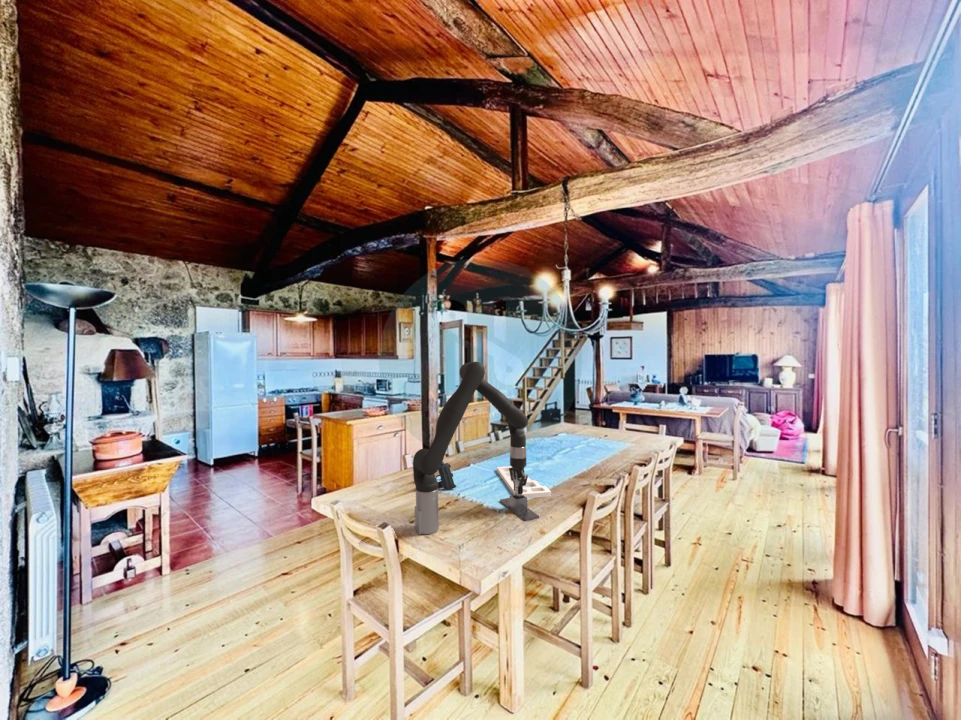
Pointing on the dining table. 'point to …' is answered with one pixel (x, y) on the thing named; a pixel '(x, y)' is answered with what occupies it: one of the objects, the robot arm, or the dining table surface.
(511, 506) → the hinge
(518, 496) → the pin
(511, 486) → the holder
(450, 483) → the gun
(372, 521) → the dining table surface
